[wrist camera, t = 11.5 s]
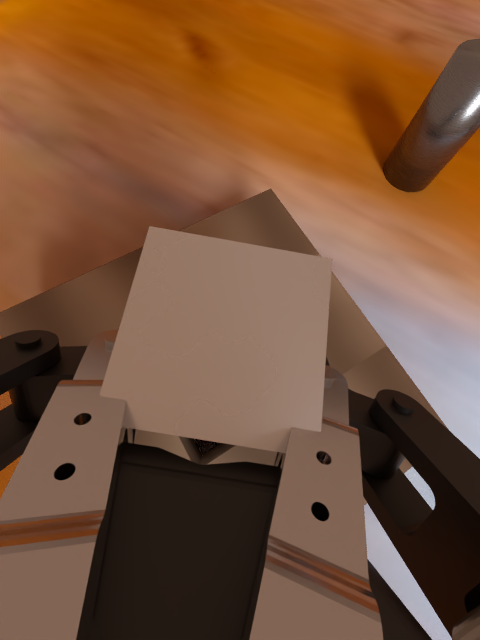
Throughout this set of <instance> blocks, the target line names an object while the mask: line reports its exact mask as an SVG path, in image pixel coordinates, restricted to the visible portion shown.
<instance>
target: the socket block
mask: <svg viewBox="0 0 480 640" xmlns="http://www.w3.org/2000/svg"><path fill="white" fill-rule="evenodd" d="M179 231H180V232H186V233H191V234H197V235H202V236H208V237H214V238H219V239H225V240H230V241H236V242H241V243H247V244H253V245H258V246H264V247H269V248H275V249H281V250H286V251H292V252H297V253H303V254H308V255H314V256H320V255H319V253H318V252H317V250H316V249H315V248H314V246H313V245H312V244H311V242H310V241H309V240H308V238H307V237H306V236H305V234H304V233H303V231H302V230H301V229H300V227H299V226H298V225H297V223H296V222H295V221H294V219H293V218H292V217H291V215H290V214H289V212H288V211H287V210H286V208H285V207H284V206H283V204H282V203H281V202H280V200H279V199H278V197H277V196H276V195H275V193H274V192H273V191H272V189H269V190H267V191H264V192H262V193H260V194H258V195H256V196H253V197H251V198H249V199H247V200H245V201H243V202H240V203H238V204H236V205H234V206H232V207H229V208H227V209H225V210H223V211H221V212H219V213H216V214H214V215H212V216H210V217H208V218H205V219H203V220H201V221H199V222H197V223H194V224H192V225H190V226H188V227H186V228H184V229H181V230H179ZM142 250H143V247H142V248H140V249H138V250H135V251H133V252H131V253H129V254H127V255H125V256H122V257H120V258H118V259H116V260H114V261H111V262H109V263H107V264H105V265H103V266H100V267H98V268H96V269H94V270H92V271H90V272H87V273H85V274H83V275H81V276H79V277H76V278H74V279H72V280H70V281H68V282H65V283H63V284H61V285H59V286H57V287H55V288H52V289H50V290H48V291H46V292H44V293H41V294H39V295H37V296H35V297H33V298H31V299H28V300H26V301H24V302H22V303H20V304H17V305H15V306H13V307H11V308H9V309H6V310H4V311H2V312H0V335H1V338H4V337H7V336H9V335H12V334H15V333H18V332H22V331H28V330H45V331H49V332H52V333H54V334H56V335H57V336H58V339H59V345H60V347H63V346H88V344H89V342H90V340H91V339H92V338H93V337H94V336H95V335H97V334H99V333H102V332H105V331H110V330H118V329H119V327H120V324H121V320H122V317H123V314H124V310H125V307H126V304H127V300H128V297H129V293H130V290H131V287H132V283H133V280H134V277H135V273H136V270H137V266H138V263H139V260H140V256H141V253H142ZM320 257H321V256H320ZM326 357H327V359H328V362H329V365H330V367H332V368H334V369H336V370H337V371H339V372H340V373H341V374H342V375H343V376H344V377H345V378H346V380H347V382H348V389H350V390H352V391H354V392H357V393H359V394H362V395H365V396H367V397H370V398H372V399H375V397H376V395H377V393H378V392H379V391H380V390H384V389H390V390H396V391H399V392H402V393H404V394H406V395H408V396H410V397H412V398H413V399H415V400H416V401H417V402H419V403H420V404H421V405H422V406H423V407H424V408H425V409H426V410H427V411H429V412H430V413H431V414H432V415H433V416H434V417H435V418H436V419H437V420H438V421H439V422H440V423H441V424H443V425H444V426H445V424H444V423H443V422H442V420H441V419H440V418H439V416H438V415H437V413H436V412H435V411H434V409H433V408H432V407H431V405H430V404H429V403H428V401H427V400H426V399H425V397H424V396H423V394H422V393H421V392H420V390H419V389H418V388H417V386H416V385H415V384H414V382H413V381H412V380H411V378H410V377H409V375H408V374H407V373H406V371H405V370H404V369H403V367H402V366H401V365H400V363H399V362H398V360H397V359H396V358H395V356H394V355H393V354H392V352H391V351H390V350H389V348H388V347H387V346H386V344H385V343H384V341H383V340H382V339H381V337H380V336H379V335H378V333H377V332H376V331H375V329H374V328H373V327H372V325H371V324H370V322H369V321H368V320H367V318H366V317H365V316H364V314H363V313H362V312H361V310H360V309H359V308H358V306H357V305H356V303H355V302H354V301H353V299H352V298H351V297H350V295H349V294H348V293H347V291H346V290H345V289H344V287H343V286H342V284H341V283H340V282H339V280H338V279H337V278H336V276H335V275H334V274H333V272H332V271H331V286H330V301H329V317H328V332H327V348H326ZM445 427H446V426H445ZM446 428H447V427H446ZM447 429H448V428H447ZM136 444H140V445H147V446H153V447H159V448H161V449H164V450H166V451H169V452H171V453H173V454H176V455H178V456H180V457H183V458H185V459H187V460H190V461H192V462H194V463H197V464H201V465H207V464H220V463H232V462H244V461H247V462H253V463H259V464H266V465H272V466H273V464H274V460H275V456H276V452H275V451H268V450H262V449H256V448H250V447H244V446H237V445H231V444H225V443H220V444H218V445H217V446H215V447H214V448H212V449H211V450H209V451H208V452H206V453H204V454H203V455H202V454H201V452H200V450H199V448H198V446H197V445H196V443H195V441H194V439H193V438H188V437H181V436H175V435H169V434H163V433H157V432H150V431H144V430H138V429H137V436H136ZM411 467H412V465H411V464H410V463H409V461H408V460H407V459H406V458H405V459H404V461H403V462H402V464H401V465H400V467H399V468H400V470H401V471H402V472H403V473H405V472H406V471H407V470H409V469H410V468H411ZM363 502H364V505H365V504H366V503H367V501H366V500H365V498H364V497H363Z"/></svg>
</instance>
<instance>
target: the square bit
mask: <svg viewBox="0 0 480 640" xmlns="http://www.w3.org/2000/svg"><path fill="white" fill-rule="evenodd" d="M331 270H332V259H331V258H325V257H320V256H314V255H308V254H303V253H297V252H292V251H286V250H281V249H275V248H269V247H264V246H258V245H253V244H247V243H241V242H236V241H230V240H225V239H219V238H214V237H208V236H202V235H197V234H191V233H186V232H180V231H175V230H169V229H163V228H158V227H152V226H149V229H148V233H147V236H146V240H145V243H144V246H143V250H142V253H141V256H140V260H139V263H138V266H137V270H136V273H135V277H134V280H133V283H132V287H131V290H130V293H129V297H128V300H127V304H126V307H125V310H124V314H123V317H122V320H121V324H120V327H119V330H118V334H117V337H116V341H115V344H114V347H113V351H112V354H111V357H110V361H109V364H108V368H107V371H106V374H105V378H104V381H103V384H102V388H101V391H100V394H99V396H104V397H110V398H116V399H122V400H126V408H125V421H124V427H125V428H132V429H138V430H144V431H150V432H157V433H163V434H169V435H175V436H181V437H188V438H194V439H200V440H206V441H212V442H219V443H225V444H231V445H237V446H244V447H250V448H256V449H262V450H268V451H275V452H281V453H285V450H286V446H287V442H288V439H289V435H290V432H291V428H292V427H294V428H300V429H306V430H312V431H318V432H321V425H322V410H323V394H324V379H325V363H326V348H327V332H328V317H329V301H330V286H331Z"/></svg>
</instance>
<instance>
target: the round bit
mask: <svg viewBox="0 0 480 640" xmlns="http://www.w3.org/2000/svg"><path fill="white" fill-rule="evenodd" d="M479 127H480V39H473V40H468V41H466V42H463V43H462V44H460V45H459V46H458V48H457V49H456V51H455V53H454V54H453V56H452V57H451V59H450V60H449V62H448V64H447V65H446V67H445V68H444V70H443V71H442V73H441V75H440V76H439V78H438V79H437V81H436V83H435V84H434V86H433V87H432V89H431V90H430V92H429V94H428V95H427V97H426V98H425V100H424V101H423V103H422V105H421V106H420V108H419V109H418V111H417V113H416V114H415V116H414V117H413V119H412V120H411V122H410V124H409V125H408V127H407V128H406V130H405V131H404V133H403V135H402V136H401V138H400V139H399V141H398V143H397V144H396V146H395V147H394V149H393V150H392V152H391V154H390V155H389V157H388V158H387V160H386V161H385V163H384V168H383V170H384V174H385V177H386V179H387V180H388V181H389V182H390V183H391V184H392V185H393V186H395V187H396V188H398V189H400V190H403V191H407V192H417V191H421V190H423V189H425V188H426V187H427V186H428V185H429V184H430V183H431V181H432V180H433V179H434V178H435V177H436V176H437V175H438V174H439V172H440V171H441V170H442V169H443V168H444V167H445V166H446V165H447V163H448V162H449V161H450V160H451V159H452V158H453V157H454V156H455V154H456V153H457V152H458V151H459V150H460V149H461V148H462V147H463V145H464V144H465V143H466V142H467V141H468V140H469V139H470V138H471V136H472V135H473V134H474V133H475V132H476V131H477V130H478V129H479Z"/></svg>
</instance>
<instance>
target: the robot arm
mask: <svg viewBox="0 0 480 640" xmlns="http://www.w3.org/2000/svg"><path fill="white" fill-rule="evenodd" d="M118 330H119V329H118ZM118 330H110V331H105V332H102V333H99V334H97V335H95V336H94V337H93V338H92V339H91V340H90V342H89V344H88V346H63V347H60V345H59V339H58V336H57V335H56V334H54V333H52V332H49V331H45V330H28V331H22V332H18V333H15V334H12V335H9V336H7V337H4V338H2V339H0V395H1V394H3V393H5V392H7V391H8V390H9V394H10V398H11V401H12V404H11V405H9V406H7V407H6V408H4V409H2V410H1V411H0V471H1V470H3V469H4V468H5V467H6V466H8V465H9V464H10V463H12V462H13V461H14V460H16V459H17V458H18V457H20V456H21V455H22V454H23V455H22V457H21V459H20V461H19V463H18V465H17V467H16V469H15V471H14V473H13V475H12V477H11V479H10V481H9V483H8V485H7V487H6V489H5V491H4V493H3V495H2V497H1V499H0V640H432V639H431V638H430V636H429V635H428V634H427V633H426V631H425V630H424V629H423V628H422V626H421V625H420V624H419V623H418V621H417V620H416V619H415V618H414V617H413V615H412V614H411V613H410V612H409V610H408V609H407V608H406V607H405V605H404V604H403V603H402V602H401V600H400V599H399V598H398V597H397V595H396V594H395V593H394V592H393V590H392V589H391V588H390V587H389V585H388V584H387V583H386V582H385V580H384V579H383V578H382V577H381V575H380V574H379V573H378V572H377V570H376V569H375V568H374V567H373V565H372V564H371V563H370V562H369V560H368V559H367V547H366V532H365V517H364V502H363V497H364V498H365V500H366V501H367V503H368V505H369V506H370V508H371V509H372V511H373V513H374V514H375V516H376V517H377V519H378V521H379V522H380V524H381V525H382V527H383V529H384V530H385V532H386V533H387V535H388V537H389V538H390V540H391V541H392V543H393V545H394V546H395V548H396V549H397V551H398V553H399V554H400V556H401V557H402V559H403V561H404V562H405V564H406V565H407V567H408V569H409V570H410V572H411V573H412V575H413V577H414V578H415V580H416V581H417V583H418V585H419V586H420V588H421V589H422V591H423V593H424V594H425V596H426V597H427V599H428V601H429V602H430V604H431V605H432V607H433V609H434V610H435V612H436V614H437V615H438V617H439V618H440V620H441V622H442V623H443V625H444V626H445V628H446V630H447V631H448V633H449V634H450V636H451V638H452V640H480V459H479V458H478V457H477V456H476V455H475V454H474V453H473V452H472V451H471V450H469V449H468V448H467V447H466V446H465V445H464V444H463V443H462V442H461V441H460V440H459V439H458V438H457V437H455V436H454V435H453V434H452V433H451V432H450V431H449V430H448V429H447V428H446V427H445V426H444V425H443V424H441V423H440V422H439V421H438V420H437V419H436V418H435V417H434V416H433V415H432V414H431V413H430V412H429V411H427V410H426V409H425V408H424V407H423V406H422V405H421V404H420V403H419V402H417V401H416V400H415V399H413V398H412V397H410V396H408V395H406V394H404V393H402V392H399V391H396V390H390V389H384V390H380V391H379V392H378V393H377V395H376V397H375V399H372V398H370V397H367V396H365V395H362V394H359V393H357V392H354V391H352V390H350V389H348V382H347V380H346V378H345V377H344V376H343V375H342V374H341V373H340V372H339V371H337V370H336V369H334V368H332V367H330V365H329V362H328V359H327V357H326V363H325V379H324V394H323V410H322V425H321V432H318V431H312V430H306V429H300V428H294V427H292V428H291V432H290V435H289V439H288V442H287V446H286V450H285V453H281V452H276V456H275V460H274V464H273V466H272V465H266V464H259V463H253V462H247V461H244V462H232V463H220V464H207V465H201V464H197V463H194V462H192V461H190V460H187V459H185V458H183V457H180V456H178V455H176V454H173V453H171V452H169V451H166V450H164V449H161V448H159V447H153V446H147V445H140V444H136V436H137V429H132V428H125V427H124V421H125V408H126V400H122V399H116V398H110V397H104V396H99V394H100V391H101V388H102V384H103V381H104V378H105V374H106V371H107V368H108V364H109V361H110V357H111V354H112V351H113V347H114V344H115V341H116V337H117V334H118ZM405 458H406V459H407V460H408V461H409V463H410V464H411V465H412V466H413V467H414V469H415V470H416V471H417V472H418V473H419V475H420V476H421V477H422V478H423V479H424V480H425V482H426V483H427V484H428V485H429V487H430V488H431V490H432V492H433V494H434V497H435V508H434V510H432V509H431V508H430V506H429V505H428V504H427V502H426V501H425V500H424V499H423V497H422V496H421V495H420V494H419V492H418V491H417V490H416V489H415V487H414V486H413V485H412V484H411V482H410V481H409V480H408V479H407V477H406V476H405V475H404V473H403V472H402V471H401V470H400V468H399V467H400V465H401V464H402V462H403V461H404V459H405Z"/></svg>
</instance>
